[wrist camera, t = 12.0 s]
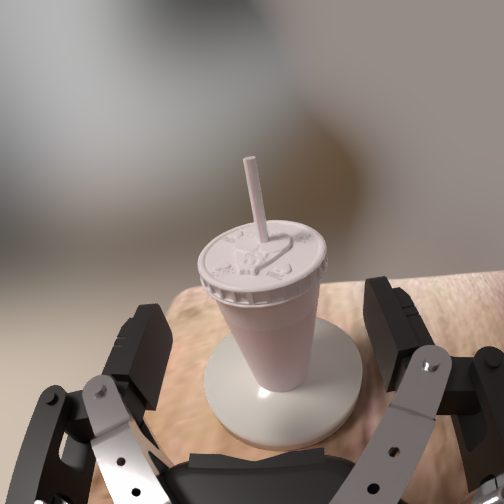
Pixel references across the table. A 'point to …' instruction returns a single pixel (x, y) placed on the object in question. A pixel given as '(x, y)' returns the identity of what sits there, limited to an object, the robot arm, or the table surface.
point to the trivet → (286, 393)
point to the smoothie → (267, 290)
